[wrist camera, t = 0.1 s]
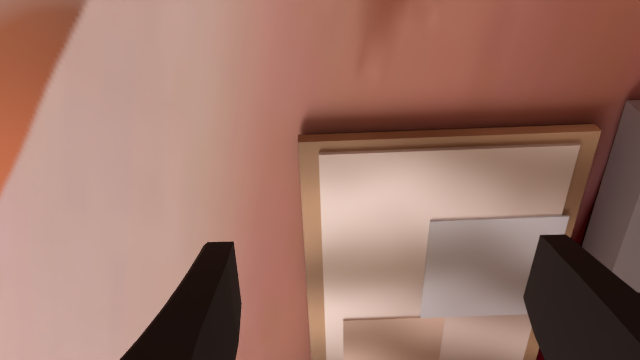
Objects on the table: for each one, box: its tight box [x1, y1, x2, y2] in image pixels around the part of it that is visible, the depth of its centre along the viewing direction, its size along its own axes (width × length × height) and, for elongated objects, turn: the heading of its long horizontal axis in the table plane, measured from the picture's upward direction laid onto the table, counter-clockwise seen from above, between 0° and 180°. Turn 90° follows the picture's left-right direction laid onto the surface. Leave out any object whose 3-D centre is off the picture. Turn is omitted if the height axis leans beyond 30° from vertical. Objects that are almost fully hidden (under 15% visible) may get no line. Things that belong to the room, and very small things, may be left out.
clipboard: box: [298, 124, 601, 360], centre depth 26 cm, size 16×12×1 cm
